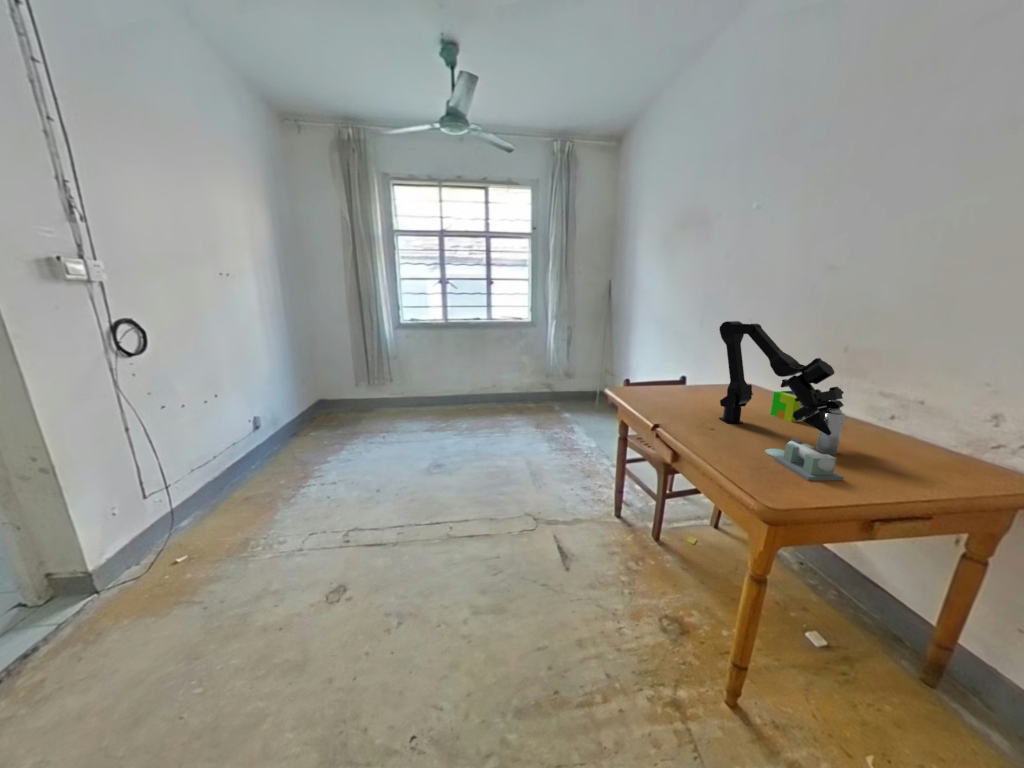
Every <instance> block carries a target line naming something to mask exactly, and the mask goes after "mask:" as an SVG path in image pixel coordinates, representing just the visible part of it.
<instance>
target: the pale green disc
mask: <svg viewBox="0 0 1024 768" xmlns="http://www.w3.org/2000/svg"><path fill="white" fill-rule="evenodd" d="M764 452H765V454H767V455H768V456H771V457H773V458H774V457H784V452H785V449H780V448H767V449H765V450H764Z"/></svg>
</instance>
